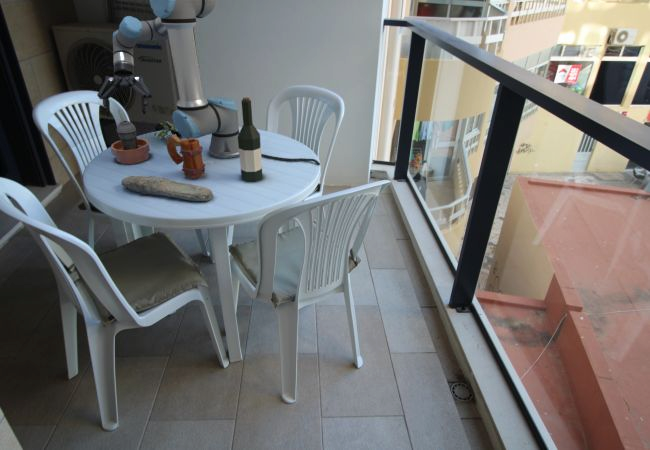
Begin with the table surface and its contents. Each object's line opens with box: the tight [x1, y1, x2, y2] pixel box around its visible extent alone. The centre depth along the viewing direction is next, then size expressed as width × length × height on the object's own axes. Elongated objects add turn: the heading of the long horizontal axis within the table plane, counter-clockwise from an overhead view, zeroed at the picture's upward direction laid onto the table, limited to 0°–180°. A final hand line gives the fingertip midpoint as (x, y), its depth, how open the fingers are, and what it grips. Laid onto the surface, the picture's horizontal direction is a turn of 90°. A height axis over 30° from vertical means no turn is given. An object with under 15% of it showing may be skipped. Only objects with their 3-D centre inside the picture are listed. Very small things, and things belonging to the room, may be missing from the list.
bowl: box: [110, 137, 151, 165], centre depth 162 cm, size 14×14×6 cm
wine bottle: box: [238, 97, 263, 183], centre depth 143 cm, size 8×8×30 cm
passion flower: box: [153, 119, 184, 142], centre depth 179 cm, size 11×11×12 cm
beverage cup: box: [116, 109, 138, 150], centre depth 158 cm, size 7×7×20 cm
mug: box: [166, 134, 206, 180], centre depth 147 cm, size 15×8×15 cm, turn 71°
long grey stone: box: [120, 175, 214, 202], centre depth 137 cm, size 35×5×10 cm
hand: (126, 113), depth 159 cm, fingers open, 13 cm apart
